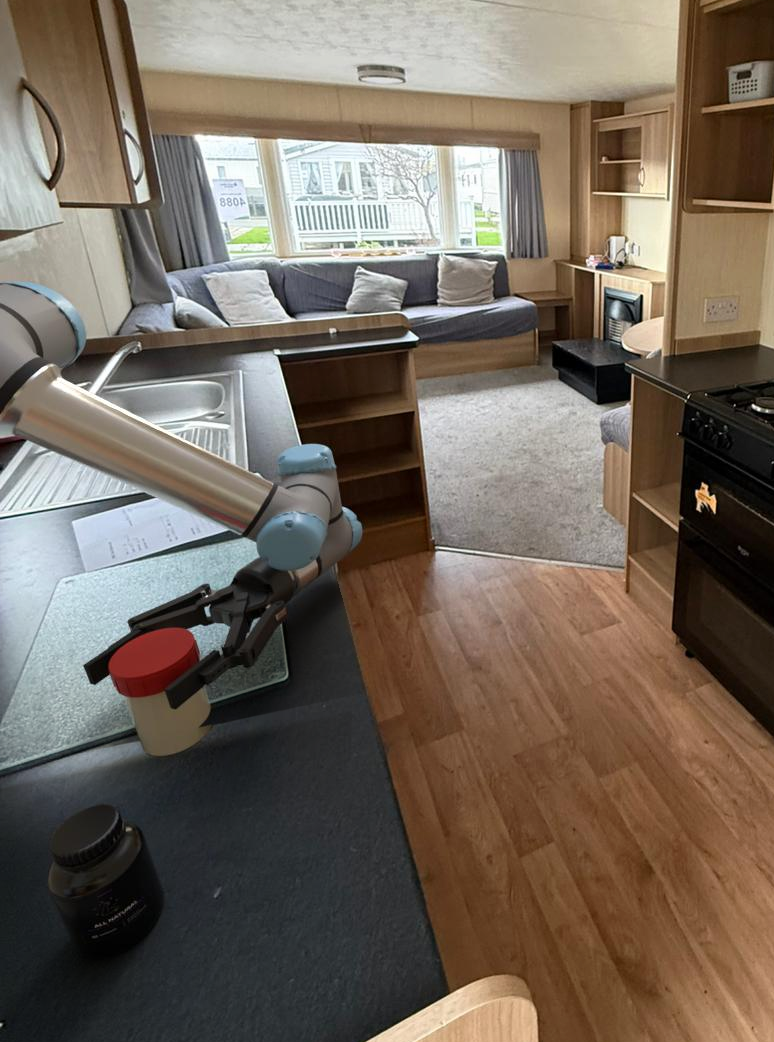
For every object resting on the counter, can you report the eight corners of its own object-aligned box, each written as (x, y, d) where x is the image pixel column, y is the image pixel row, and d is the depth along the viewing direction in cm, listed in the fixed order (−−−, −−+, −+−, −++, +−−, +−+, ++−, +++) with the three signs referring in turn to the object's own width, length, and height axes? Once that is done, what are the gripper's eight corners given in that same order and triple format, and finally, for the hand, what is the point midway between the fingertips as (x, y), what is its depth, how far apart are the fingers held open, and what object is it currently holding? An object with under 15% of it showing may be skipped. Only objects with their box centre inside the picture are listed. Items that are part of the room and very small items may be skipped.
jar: (140, 766, 75) (111, 689, 70) (143, 722, 81) (117, 648, 76) (215, 738, 78) (192, 663, 74) (213, 698, 84) (191, 626, 80)
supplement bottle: (123, 970, 56) (80, 876, 51) (56, 954, 57) (8, 861, 52) (184, 888, 62) (150, 799, 57) (122, 876, 63) (85, 787, 58)
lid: (153, 705, 71) (146, 684, 70) (97, 688, 73) (89, 668, 72) (216, 654, 78) (211, 634, 77) (163, 640, 81) (157, 621, 80)
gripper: (349, 615, 89) (219, 738, 70) (215, 585, 96) (63, 689, 77) (341, 569, 87) (203, 684, 67) (203, 541, 93) (42, 638, 74)
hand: (128, 687), depth 72 cm, fingers open, 11 cm apart
